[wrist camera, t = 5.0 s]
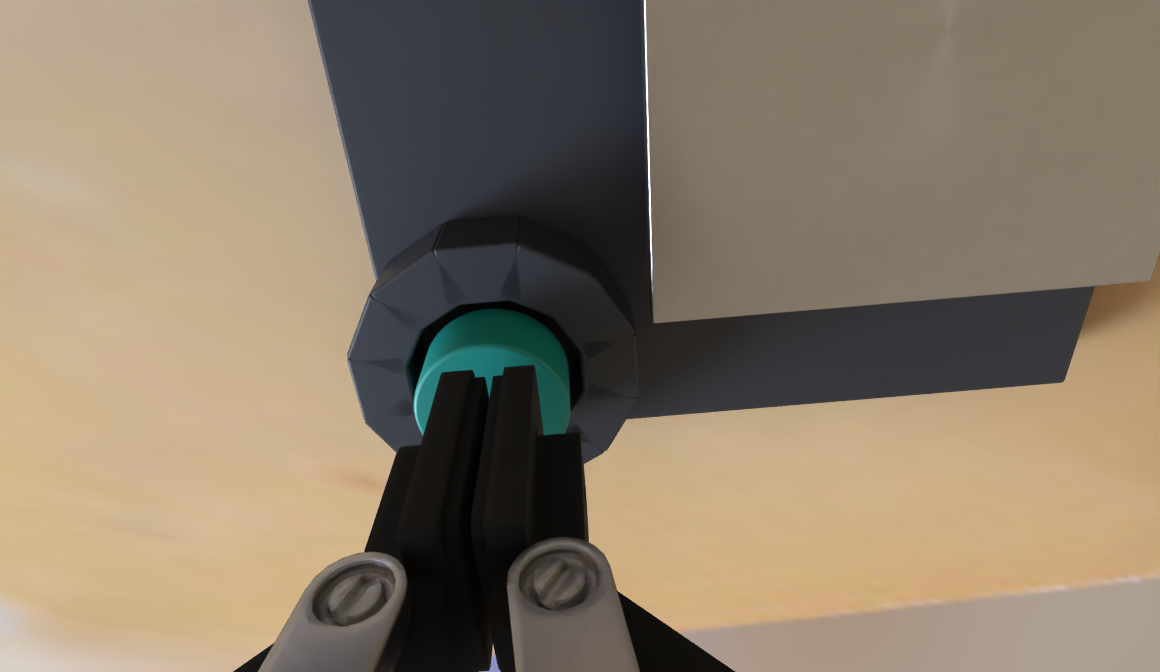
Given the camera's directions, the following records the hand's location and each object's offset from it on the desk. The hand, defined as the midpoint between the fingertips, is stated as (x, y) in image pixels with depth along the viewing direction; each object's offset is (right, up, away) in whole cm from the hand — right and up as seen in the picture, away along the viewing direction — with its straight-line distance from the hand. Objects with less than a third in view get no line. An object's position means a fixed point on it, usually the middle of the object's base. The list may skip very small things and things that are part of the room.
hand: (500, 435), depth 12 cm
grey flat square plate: (+7, +7, -1) cm, 10 cm away
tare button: (0, +1, +2) cm, 2 cm away
